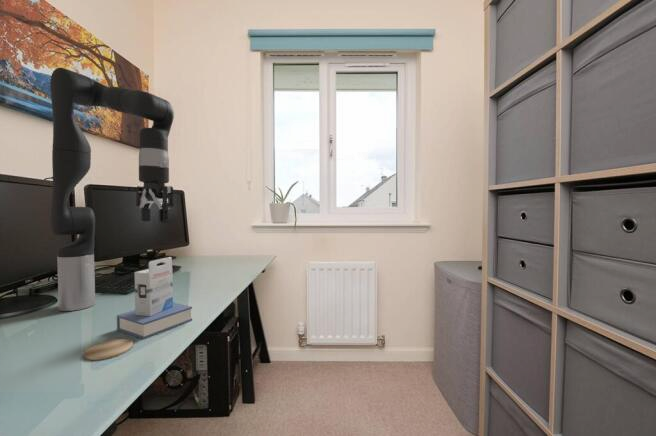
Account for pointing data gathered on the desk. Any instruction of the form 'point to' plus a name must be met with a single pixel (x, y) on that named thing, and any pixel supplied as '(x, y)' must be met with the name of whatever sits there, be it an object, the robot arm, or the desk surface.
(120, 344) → the cork coaster
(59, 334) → the desk surface
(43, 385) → the desk surface
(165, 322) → the navy book
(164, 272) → the ink box
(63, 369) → the desk surface
